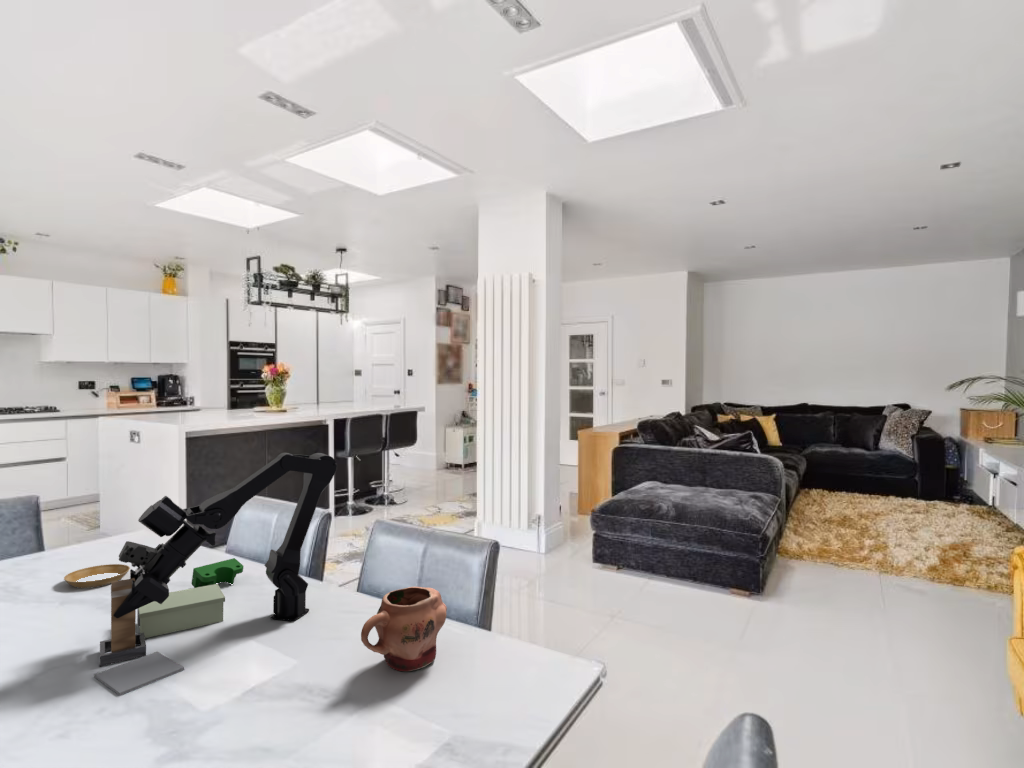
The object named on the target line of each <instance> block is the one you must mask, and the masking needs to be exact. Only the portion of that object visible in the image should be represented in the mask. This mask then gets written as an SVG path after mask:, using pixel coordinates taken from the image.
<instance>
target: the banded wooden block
mask: <svg viewBox="0 0 1024 768" xmlns="http://www.w3.org/2000/svg"><path fill="white" fill-rule="evenodd" d="M132 580H133V581H135V578H132V579H130V578H128V579H120V580H119V581H114V582H111V584H110V601H111V602H110V618H111V619H110V639H111V651H110V652H115V651H119V650H124V649H128V648H133V647H136V645H135V634H136V623H137V619H136V618H137V616H136V610H137V609H136V610H134V611H132V612H130V613H128V614H126V615H124V616H122V617H120V618H116V617H114V616H113V615H114V613H115V612H116V610H117V609H118V608H119V606H120V605H121V604H122V602H123V601H124V600H125V598H126V597H127V596H128V595H129V593H130V592H131V590H132Z"/></svg>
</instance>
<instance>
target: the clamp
mask: <svg viewBox="0 0 1024 768" xmlns="http://www.w3.org/2000/svg"><path fill="white" fill-rule="evenodd" d="M244 566H245V565H243V563H241V562H240V561H239V560H237V559H236V558H229V559H226V560H221V561H217V562H214V563H210V564H206V565H202V566H201V565H200V566H197V567H193V571H192V575H191V576H192V577H191V585H192V586H193V588H197V587H203V586H208V585H214V584H216V583H220V582H223V583H226V584H229V583H231V584H233V583H234V582H235V578H237V577H236V576H237V575H239V574H242V573H243V572H244ZM227 582H228V583H227ZM220 584H221V583H220ZM233 585H234V584H233Z"/></svg>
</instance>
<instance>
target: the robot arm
mask: <svg viewBox="0 0 1024 768" xmlns="http://www.w3.org/2000/svg"><path fill="white" fill-rule="evenodd" d="M337 471H338V463H337V461H336V459H335V458H334V457H332V456H330V455H328V454H325V453H321V452H316V453H313V454H311V455H306V454H296V453H295V454H294V453H289V452H281V453H280V454H278V455H277V456H276V457H275V458H274V459H272V460H270V462H268V463H267V464H265V465H264V466H263V467H261V468H259V469H258V470H257V471H255V472H254V473H253V474H251V475H250V476H248V477H247V478H245V479H244V480H243V481H241V482H240V483H238V484H237V485H236V486H234V487H232V488H231V489H230V488H229V489H228V490H226V491H222V492H220V493H218V494H215V495H214V496H211V497H210V498H207V499H206V500H203V502H201V503H200V504H198V505H196V506H191V507H186V508H181V507H180V506H179V505H178V504H176V503H175V502H174V501H173V500H172V499H171V498H170V497H169V496H167V495H164V496H163V497H162V498H161V499H159V500H157V501H156V502H155V503H153V504H151V505H150V506H148V508H146V509H145V510H144V512H143V513H142V514H141V515H140V517H139V518H138V520H137V521H138V523H140V524H142V525H143V526H144V527H146V528H147V529H148V530H150V531H151V532H153V533H154V534H155V535H157V536H158V537H160V538H162V537H169V539H168V540H167V541H166V542H165V543H158V545H156V547H152V546H149V545H145V544H141V543H137V542H134V541H130V540H129V541H126V542H125V543H124V545H123V547H122V548H121V551H120V552H119V554H118V561H120V562H122V563H125V564H127V563H130V564H131V567H133V568H135V567H137V568H136V569H135V570H133V569H132V568H130V569H129V579H132V578H135V581H133V580H132V590H131V592H130V593H129V595H128V596H127V597H126V598H125V600H124V601H123V602H122V604H121V605H120V606H119V608H118V609H117V610H116V612H115V613H114V615H113V616H114V617H116V618H120V617H122V616H124V615H126V614H128V613H130V612H132V611H134V610H137V609H138V608H140V607H142V606H144V605H147V604H149V603H151V602H153V601H156V602H158V603H159V604H162V603H163V602H164V601H165V600H166V599H167V598H168V597H169V592H170V588H169V586H168V584H169V583H170V582H171V577H172V576H173V575H174V574H175V573H176V572H177V571H178V570H179V569H180V568H182V569H184V567H185V566H186V565H187V561H188V559H189V558H191V556H192V555H194V553H195V552H196V551H197V550H198V549H199V548H200V547H201V546H202V545H203V544H204V543H205V542H207V543H208V544H209V545H211V546H213V547H214V546H216V535H217V533H216V532H215V530H219V529H222V528H223V527H225V526H226V525H227V524H228V523H229V522H230V521H231V520H232V519H233V518H234V517H235V516H236V515H238V513H239V511H240V510H241V509H242V507H244V505H245V504H247V502H248V501H250V500H251V499H252V498H255V496H257V495H259V493H260V492H261V493H262V492H263V490H265V489H266V488H268V487H269V486H270V485H272V484H273V483H274V482H276V481H277V480H279V479H280V478H281V477H283V476H284V475H285V474H287V473H288V472H298V473H303V483H302V484H303V486H302V487H303V488H302V489H301V493H300V494H299V499H298V501H297V504H296V507H295V509H294V512H293V514H292V516H291V519H290V521H289V526H288V528H287V530H286V533H285V535H284V538H283V541H282V543H281V545H280V546H279V547H278V548H277V550H275V549H270V552H269V556H268V558H267V561H266V563H265V564H264V567H265V568H266V570H265V574H266V577H267V579H268V580H270V582H271V583H272V584H273V586H274V587H276V588H277V589H275V590H274V595H273V605H272V606H273V607H272V608H273V614H272V615H270V619H271V620H278V621H279V620H280V621H285V622H286V621H288V622H296V621H297V620H299V618H301V617H303V616H304V615H305V614H307V613H309V612H310V608H307V607H306V600H307V599H306V598H307V597H306V596H307V595H306V594H307V589H308V586H309V583H308V582H307V581H306V580H305V579H304V578H303V577H302V576H301V575H300V574H299V573H300V568H301V555H302V554H301V553H302V552H301V551H302V547H303V545H304V543H305V539H306V536H307V534H308V531H309V528H310V525H311V523H312V520H313V518H314V514H315V511H316V508H317V506H318V503H319V500H320V498H321V495H322V493H323V491H324V490H326V488H327V487H328V486H329V484H330V483H331V482H332V479H333V478H334V476H335V474H336V472H337ZM188 521H189V522H188ZM203 526H204V527H206V528H208V529H210V531H208V530H207V529H205V528H204V527H203Z"/></svg>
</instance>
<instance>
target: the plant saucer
mask: <svg viewBox="0 0 1024 768" xmlns="http://www.w3.org/2000/svg"><path fill="white" fill-rule="evenodd" d="M130 570H131V567H130V566H129V565H128V564H120V563H118V564H117V563H115V564H114V563H110V564H101V565H93V566H89V567H88V566H87V567H85V568H81V569H77V570H74V571H72V572H69V573H67V574H66V575H65V576H64V577H63V580H64V581H65V582H66V583H68V584H69V585H70V586H71V587H74V588H76V587H78V588H77V589H92V588H91V587H93V588H98V587H97V586H100V587H103V586H102V585H105V586H108V585H111V584H110V583H111V582H114V581H118V580H119V581H120V580H122V578H124V577H125V576H126V575H127V574H128V572H130ZM104 573H118V574H120V575H117V576H114V577H111V578H106V579H102V580H95V581H86V582H78V581H77V580H79V579H81V578H85V577H88V576H92V575H97V574H104ZM76 581H77V582H76ZM107 584H108V585H107Z"/></svg>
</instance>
